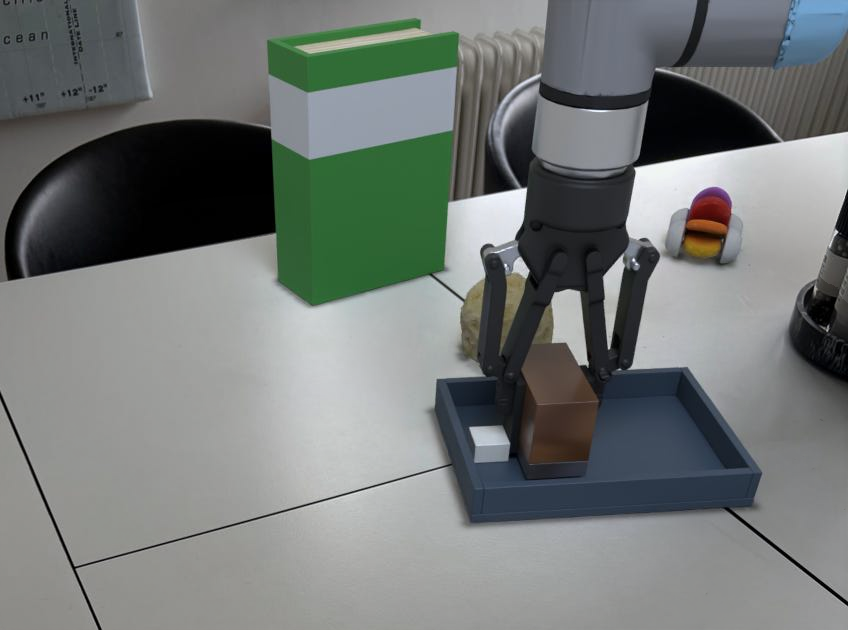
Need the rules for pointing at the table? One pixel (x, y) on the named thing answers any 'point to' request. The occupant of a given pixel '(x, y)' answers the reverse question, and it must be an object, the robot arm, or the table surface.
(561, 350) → the eraser
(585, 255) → the robot arm
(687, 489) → the tray
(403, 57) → the hardback book
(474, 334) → the decorative item
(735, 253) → the rainbow disc roller
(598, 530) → the table surface
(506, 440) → the white short square block
